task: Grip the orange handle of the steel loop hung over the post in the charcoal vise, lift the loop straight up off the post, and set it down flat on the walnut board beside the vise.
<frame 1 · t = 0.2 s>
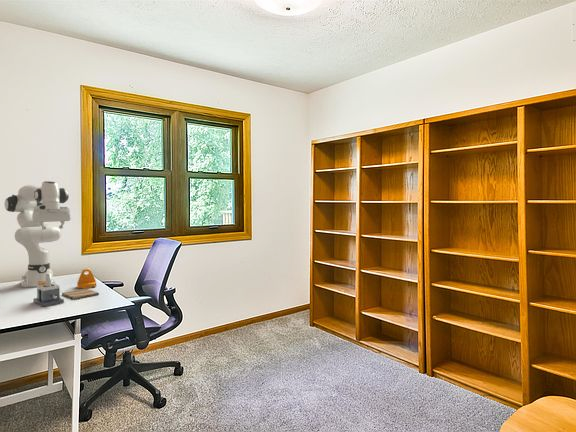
hand: (52, 229, 220), 39 cm above the table, tool pointing down, fingers open, 8 cm apart
loop: (48, 288, 196), point 8 cm above the table, touching vise
vise: (48, 302, 197), on the table
orange rounded piece: (86, 287, 232), on the table
board: (80, 294, 213), on the table
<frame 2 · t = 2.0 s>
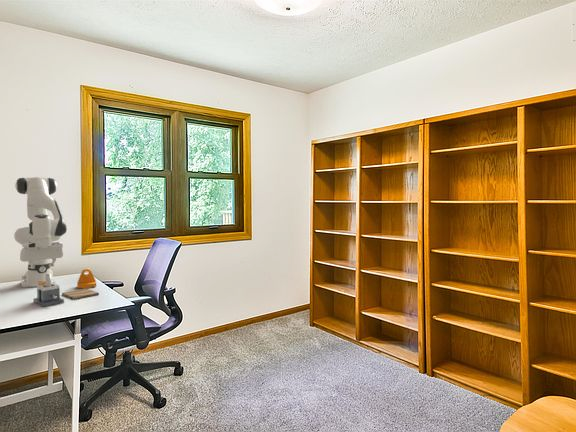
hand: (42, 267, 200), 19 cm above the table, tool pointing down, fingers open, 8 cm apart
nothing on the table moved.
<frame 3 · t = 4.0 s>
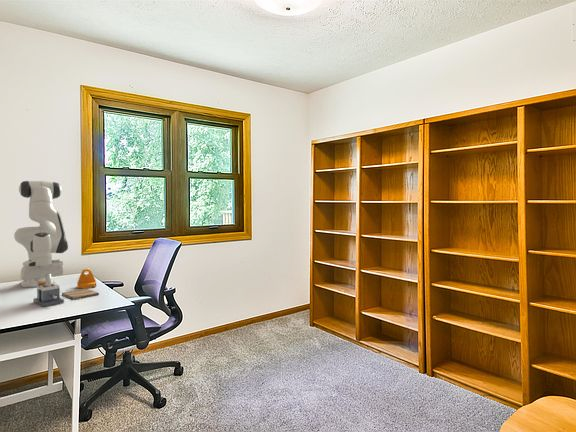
hand: (42, 285, 201), 8 cm above the table, tool pointing down, fingers closed on loop, 2 cm apart
loop: (48, 288, 196), point 8 cm above the table, touching gripper, vise
everything else where it was.
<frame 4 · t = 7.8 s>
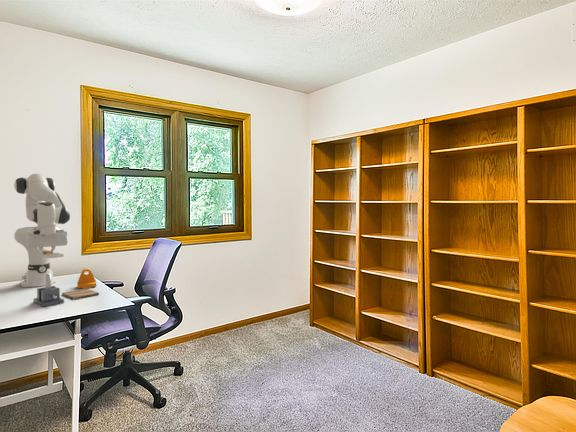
hand: (47, 254, 202), 26 cm above the table, tool pointing down, fingers closed on loop, 2 cm apart
loop: (52, 256, 197), point 25 cm above the table, touching gripper
everything else where it was.
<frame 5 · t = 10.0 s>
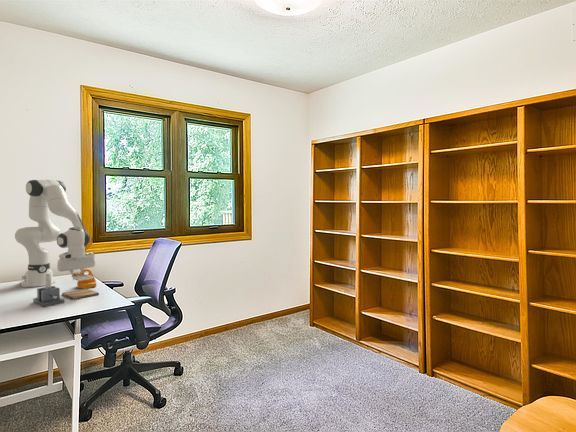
hand: (77, 276, 215), 11 cm above the table, tool pointing down, fingers closed on loop, 2 cm apart
loop: (83, 278, 210), point 10 cm above the table, touching gripper
everything else where it was.
when the fingers open (3 cm above the table, at t = 11.8 s): loop drops 1 cm, resting on board.
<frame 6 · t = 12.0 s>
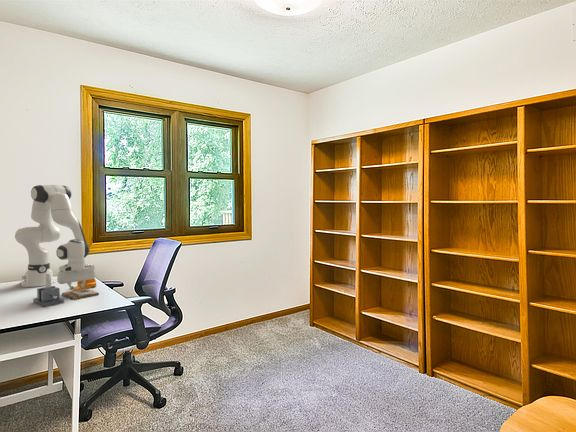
hand: (76, 288, 216), 3 cm above the table, tool pointing down, fingers open, 5 cm apart
loop: (82, 293, 211), point 1 cm above the table, touching board
everything else where it was.
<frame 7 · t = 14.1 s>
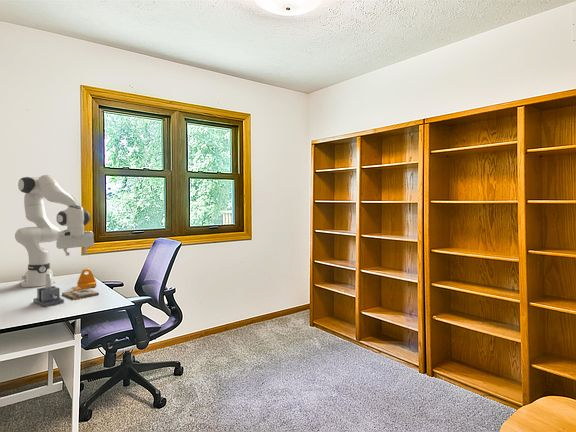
hand: (75, 254, 215), 24 cm above the table, tool pointing down, fingers open, 8 cm apart
nothing on the table moved.
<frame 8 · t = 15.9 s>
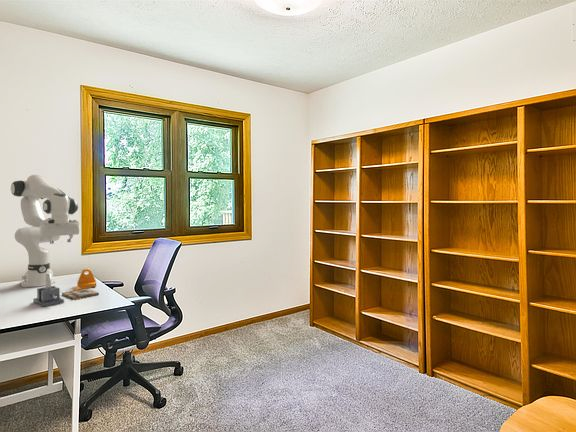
hand: (60, 242, 214), 31 cm above the table, tool pointing down, fingers open, 8 cm apart
nothing on the table moved.
at the end: loop inside the target area on the board (0.1 cm from its centre), point 1.2 cm above the board's base; loop touching board; loop tilted 0° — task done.
